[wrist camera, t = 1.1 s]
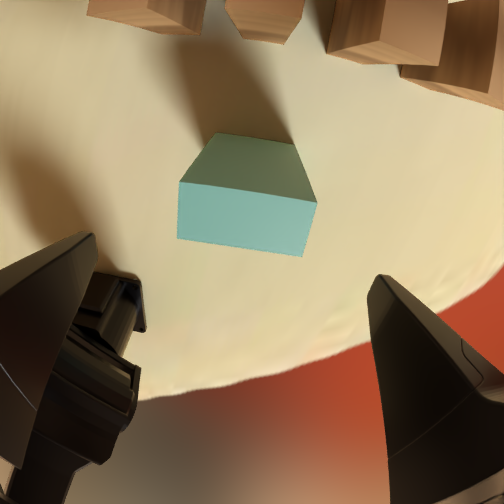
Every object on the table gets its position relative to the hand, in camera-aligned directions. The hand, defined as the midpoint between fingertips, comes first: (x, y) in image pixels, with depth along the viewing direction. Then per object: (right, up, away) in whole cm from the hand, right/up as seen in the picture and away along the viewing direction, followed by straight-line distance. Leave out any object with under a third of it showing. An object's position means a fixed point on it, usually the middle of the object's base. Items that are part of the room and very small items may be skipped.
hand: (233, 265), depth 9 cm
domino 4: (+11, +13, +5) cm, 18 cm away
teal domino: (+1, +6, +10) cm, 12 cm away
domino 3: (+7, +14, +4) cm, 16 cm away
